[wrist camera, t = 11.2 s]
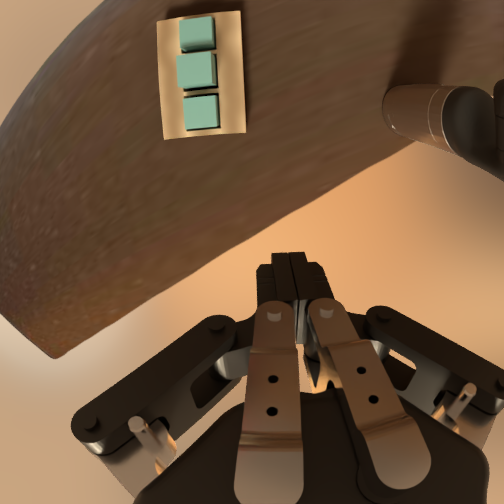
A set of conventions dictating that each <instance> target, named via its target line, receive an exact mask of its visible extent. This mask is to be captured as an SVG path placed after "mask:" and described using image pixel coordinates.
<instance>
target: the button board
mask: <svg viewBox="0 0 504 504" xmlns="http://www.w3.org/2000/svg"><path fill="white" fill-rule="evenodd" d="M208 16H211V17H212V19H213V21H214V23H215V24H216V48H217V50H208V51H211V53H212V54H213V55H214V56H215V58H217V68H218V87H219V88H217V89H206V90H197V91H189V89H185V88H180V87H178V82H177V64H176V56H178V55H185V54H192V53H200V52H208V51H199V52H191V53H186V52H185V51H183V50H182V49H181V48H180V40H179V20H186V19H192V18H200V17H208ZM157 50H158V69H159V70H158V72H159V88H160V100H161V114H162V125H163V134H164V140H166V139H174V138H182V137H191V136H202V135H213V134H227V133H245V132H246V113H245V92H244V72H243V51H242V30H241V15H240V11H229V12H217V13H208V14H199V15H192V16H185V17H179V18H174V19H168V20H163V21H158V22H157ZM208 94H219V105H220V121H221V127H210V128H199V129H186V130H185V123H184V111H183V99H186V98H189V97H190V96H199V95H208Z"/></svg>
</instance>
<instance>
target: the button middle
mask: <svg viewBox="0 0 504 504" xmlns="http://www.w3.org/2000/svg"><path fill="white" fill-rule="evenodd" d="M176 64H177V82H178V87H180V88H185V89H191V88H200V87H210V86H217V70H216V58H215V56H214V55H213V54H212V53H211V51H208V52H200V53H192V54H185V55H178V56H176Z"/></svg>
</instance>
